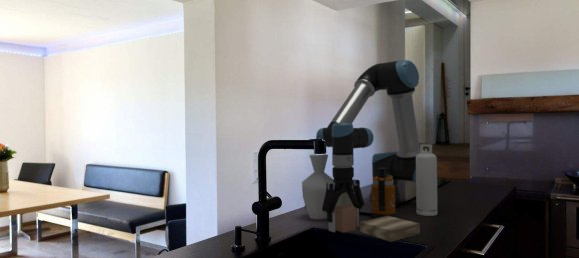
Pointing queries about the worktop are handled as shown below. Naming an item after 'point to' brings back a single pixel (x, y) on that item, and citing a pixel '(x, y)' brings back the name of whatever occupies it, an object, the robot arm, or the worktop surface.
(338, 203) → the can
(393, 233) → the plinth block
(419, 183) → the bottle
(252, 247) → the worktop surface
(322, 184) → the vase
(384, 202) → the canister
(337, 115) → the robot arm
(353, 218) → the tower block
